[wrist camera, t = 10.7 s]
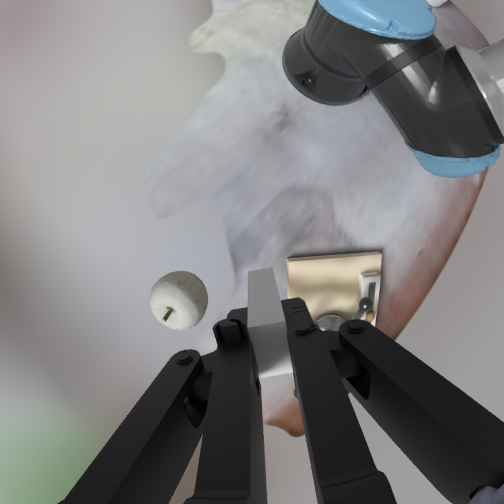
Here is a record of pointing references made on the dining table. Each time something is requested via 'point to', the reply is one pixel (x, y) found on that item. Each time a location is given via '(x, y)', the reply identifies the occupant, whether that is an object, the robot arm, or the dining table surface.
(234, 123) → the dining table surface
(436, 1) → the can
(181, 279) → the decorative object
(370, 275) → the stand
